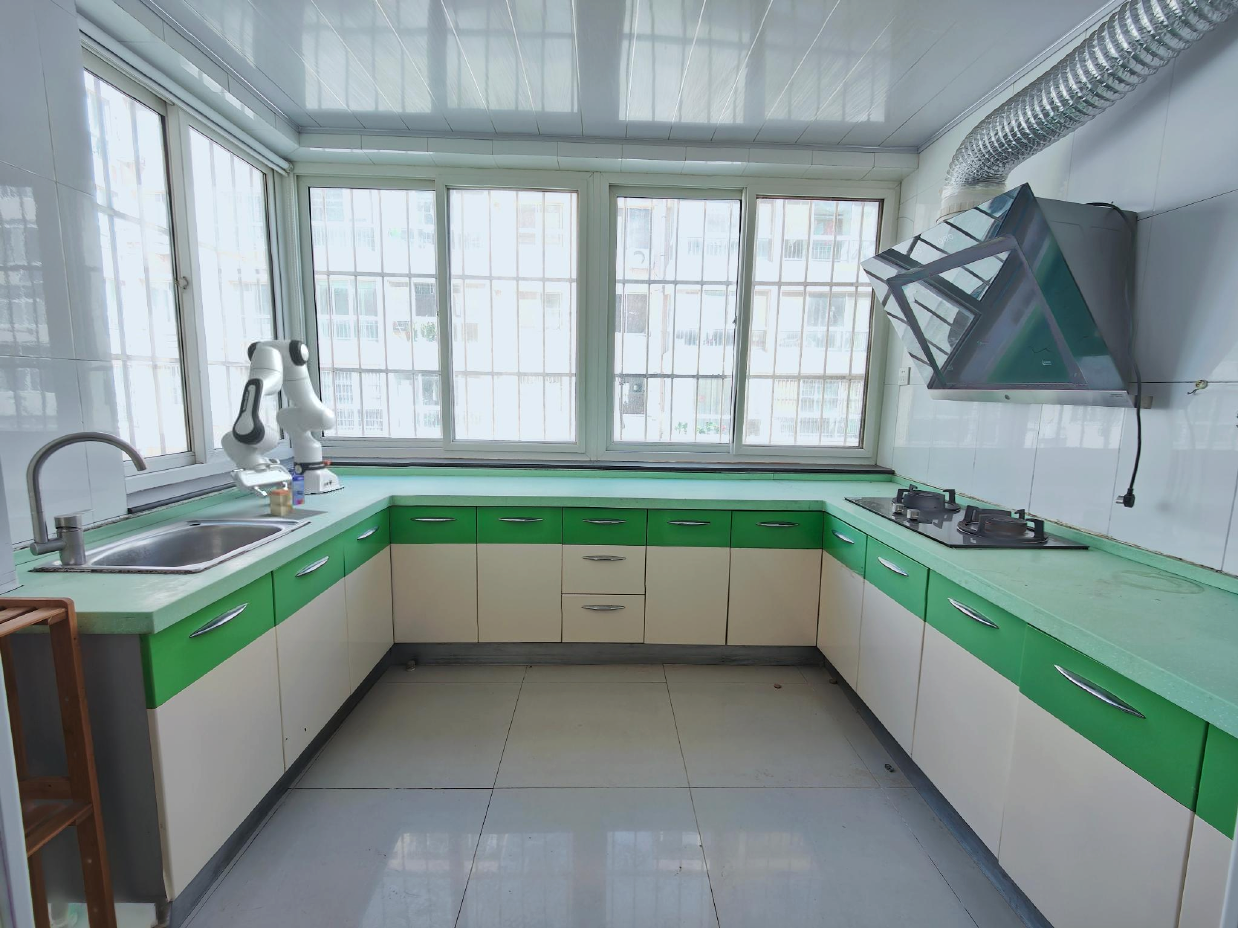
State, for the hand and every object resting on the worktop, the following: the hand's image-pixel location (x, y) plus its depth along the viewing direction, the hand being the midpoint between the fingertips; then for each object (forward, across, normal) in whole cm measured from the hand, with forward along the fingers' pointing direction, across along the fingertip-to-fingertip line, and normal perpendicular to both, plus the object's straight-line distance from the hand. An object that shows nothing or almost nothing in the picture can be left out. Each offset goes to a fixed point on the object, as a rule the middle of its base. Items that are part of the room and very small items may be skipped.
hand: (276, 494), depth 200 cm
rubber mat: (+10, +2, +1) cm, 10 cm away
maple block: (+6, 0, +4) cm, 7 cm away
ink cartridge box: (-2, +16, +13) cm, 21 cm away
